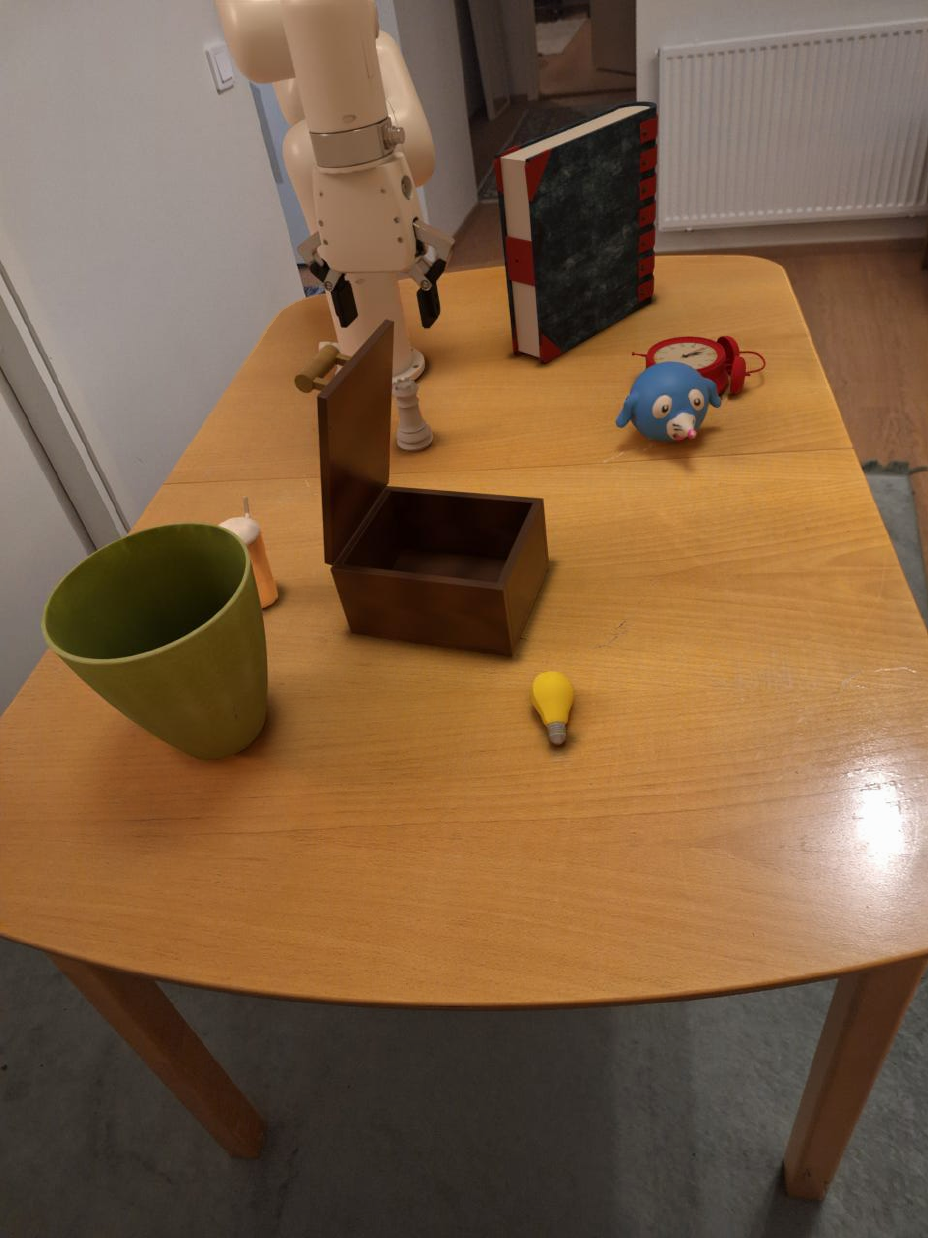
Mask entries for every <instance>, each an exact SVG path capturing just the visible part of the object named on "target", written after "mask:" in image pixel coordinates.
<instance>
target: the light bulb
mask: <svg viewBox="0 0 928 1238" xmlns="http://www.w3.org/2000/svg"><path fill="white" fill-rule="evenodd" d="M575 691H576V690H575V687H574V685H573V684H572V682H571V680H570V679H569V678H568V677H567V676H566V674H564V673H562V672H560V671H557V670H556V671H555V670H549V671H544V672H542V673H539V674H538V675H537V676H536V677H535V678H534V680H533V681H532V683H531V685H530V688H529V699H530V702H531V704H532V705H533V707H534V709H535V710H536V711H537V713H538V714H539V715H540V717H541V721H542V723H543V724H544V725H545V727H546V730H547V736H548V740H549V741H550V742H552V743H553V744H554V745H555V746H559V745H562V744H563V742H564V741H565V740H566V739H567V737H568V736H567V731H566V730H567V729H566V724H567V723H568V721H569V713H570V710H571V707H572V706H573V703H574V700H575Z"/></svg>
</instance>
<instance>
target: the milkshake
mask: <svg viewBox="0 0 928 1238" xmlns="http://www.w3.org/2000/svg"><path fill="white" fill-rule="evenodd" d="M242 500H243V508H244V516H233V517H230V518H228V519H226V520H224V521H222V522H220V523H219V524H218V526H221V527H223V528H226V529H228V530H230V531H232V532H234V533H235V534H236V535H238V536H239V537H240V538H241V539H242V540H243V542H244V543H245V545H246V546H247V549H248V551H249V555H250V559H251V563H252V567H253V571H254V575H255V579H256V584H257V589H258V593H259V598H260V603H261V608H262V609H265V608H267V607H269V606H271V605H273V604H274V603H275V602H276V600H277V599H278V597H279V595H278V594H279V593H278V589H277V585H276V582H275V578H274V576H273V572H272V568H271V565H270V561H269V557H268V555H267V549H266V545H265V542H264V538H263V534H262V530H261V527H260V526H261V525H260V524H259V522H258V521H257V520H255V519H253V518H251V517H250V508H249V499H248V497H247V496H243V499H242Z"/></svg>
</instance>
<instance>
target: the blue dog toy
mask: <svg viewBox="0 0 928 1238" xmlns="http://www.w3.org/2000/svg"><path fill="white" fill-rule="evenodd" d="M709 405H710V406H712V408H715V409H719V408H721V406H722V398H721V397H720V396H719V394H718V393H717V387H716V384H715V383H714V382H713V381H712V380H710V379H706V378H704V377H702V376H701V375H700V374H699V372H698V371H697V370H695V369H694V368H693V367H691V366H689V365H687V364H684V363H681V362H673V361H669V362H661V363H658V364H655V365H653V366H651V367H649V368H647V369H646V370H645V369H644V370H643V371H642V372H640V374H639V375H637V377H636V378H635V380H634V381H633V383H632V385H631V388H630V390H629V395H627V397H626V399H625V401H624V402H623V404H622V408H621V410H620V412H619V414H618V416H617V417H616V419H615V421H614V422H615V425H616V427H617V428H618V429H623V428H625V427H627V425H628V424H629V423H630V422H631V424H632V425H633V427H635V429H636V430H637V431H638V432H639V434H641V435H642V436H643V437H645V438H647V439H648V440H650V441H654V442H656V443H675V442H679V441H683V440H684V439H686V438H688V439H691V440H692V439H695V438H696V437H697V430H698V429H699V428H700V427H701V425H702V424H703V422H704V420H705V418H706V417H707V416H706V415H707V414H708V409H709Z"/></svg>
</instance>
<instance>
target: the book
mask: <svg viewBox="0 0 928 1238" xmlns="http://www.w3.org/2000/svg"><path fill="white" fill-rule="evenodd" d="M658 135H659V114H658V104H657V103H655V102H653V101H645V100H644V101H643V100H642V101H641V100H640V101H630V102H623V103H619V104H616V105H614V106H612V107H610V108H608V109H605V110H603V111H600V112H598V113H595V114H593V115H590V116H588V117H585V118H583V119H579V120H578V121H575V122H573V123H570V124H568V125H565V126H562V127H561V128H558V129H555V130H553V131H550V132H548V133H546V134H543V135H541V136H538V137H535V138H533V139H531V140H528V141H526V142H524V143H520V144H519V145H517V144H516V145H515V146H512V147H509V148H507V149H505V150H502V151H501V152H498V153H496V154H494V155H493V168H494V169H493V170H494V175H495V184H496V190H497V198H498V199H497V200H498V207H499V208H498V209H499V210H498V211H499V218H500V229H501V240H502V250H503V259H504V269H505V279H506V290H507V291H506V292H507V299H508V310H509V312H508V313H509V320H510V321H509V322H510V330H511V331H510V332H511V343H512V352H513V355H514V356H517V355H519V354H523V353H525V354H528V355H531V356H533V357H537V358H539V360H540V364H541V365H545V364H546V363H549V362H551V361H552V360H555V359H556V358H557V357H559V356H561V355H563V354H564V353H565V352H567V351H569V350H571V349H572V348H574V347H576V346H577V345H579V344H581V343H583V342H585V341H587V340H588V339H589V338H592V337H593V336H595V335H597V334H598V333H600V332H602V331H603V330H605V329H607V328H608V327H611V326H612V325H614V324H616V323H617V322H619V321H621V320H622V319H624V318H626V317H628V316H629V315H631V314H633V313H635V312H636V311H638V310H640V309H641V308H643V307H645V306H648V305H650V304H652V302H653V296H654V293H655V274H654V271H655V263H656V252H655V249H654V248H655V245H656V226H655V222H656V218H657V200H656V198H655V197H656V193H657V185H658V184H657V181H658V179H657V178H658V176H657V175H658V174H657V172H656V167H657V165H658V144H657V137H658Z"/></svg>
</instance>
